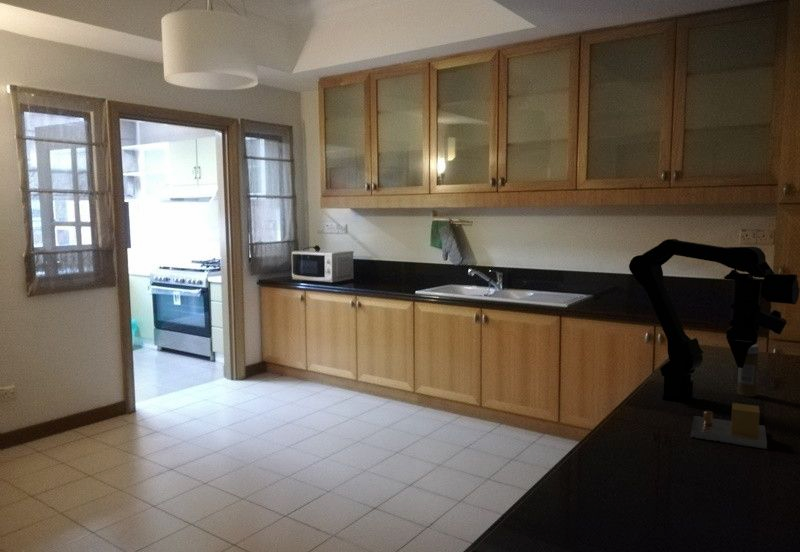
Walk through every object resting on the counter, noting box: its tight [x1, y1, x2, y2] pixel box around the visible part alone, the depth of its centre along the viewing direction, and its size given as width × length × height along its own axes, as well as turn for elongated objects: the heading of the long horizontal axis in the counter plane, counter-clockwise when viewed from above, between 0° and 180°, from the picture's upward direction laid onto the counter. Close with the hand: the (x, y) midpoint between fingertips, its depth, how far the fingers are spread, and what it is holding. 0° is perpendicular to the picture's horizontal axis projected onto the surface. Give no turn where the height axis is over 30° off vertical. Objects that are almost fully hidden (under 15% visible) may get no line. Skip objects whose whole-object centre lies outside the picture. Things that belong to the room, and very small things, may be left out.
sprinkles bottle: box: [736, 344, 760, 398], centre depth 161 cm, size 5×5×13 cm
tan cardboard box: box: [730, 402, 761, 436], centre depth 131 cm, size 5×5×5 cm
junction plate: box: [690, 410, 768, 450], centre depth 132 cm, size 14×11×4 cm
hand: (741, 363), depth 147 cm, fingers open, 9 cm apart
